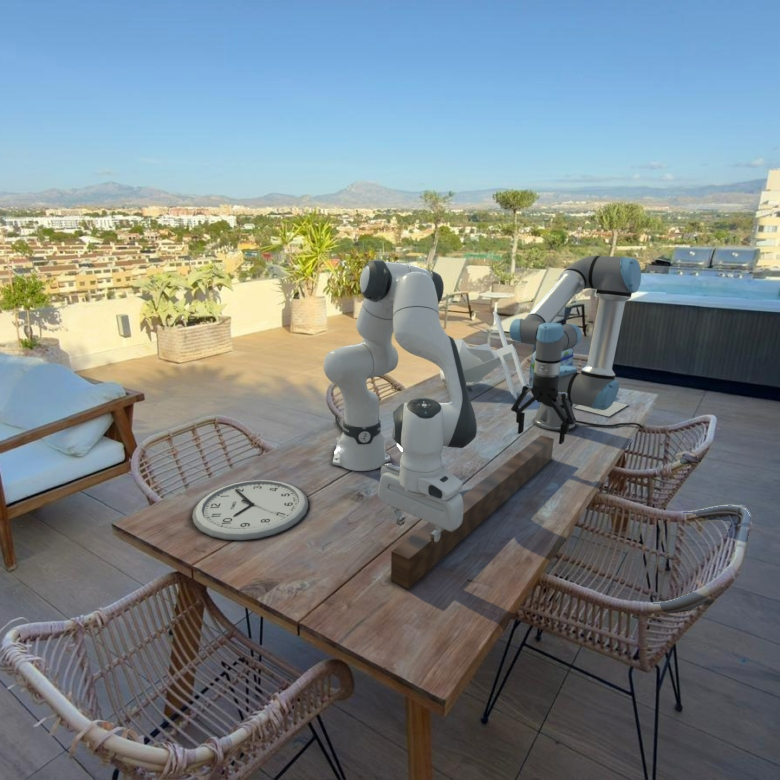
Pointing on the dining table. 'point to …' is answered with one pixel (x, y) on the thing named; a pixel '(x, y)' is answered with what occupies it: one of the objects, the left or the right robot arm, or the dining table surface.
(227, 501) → the wall clock
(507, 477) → the beam
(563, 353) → the lunch box
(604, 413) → the invitation card
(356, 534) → the dining table surface
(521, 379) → the white plastic object
